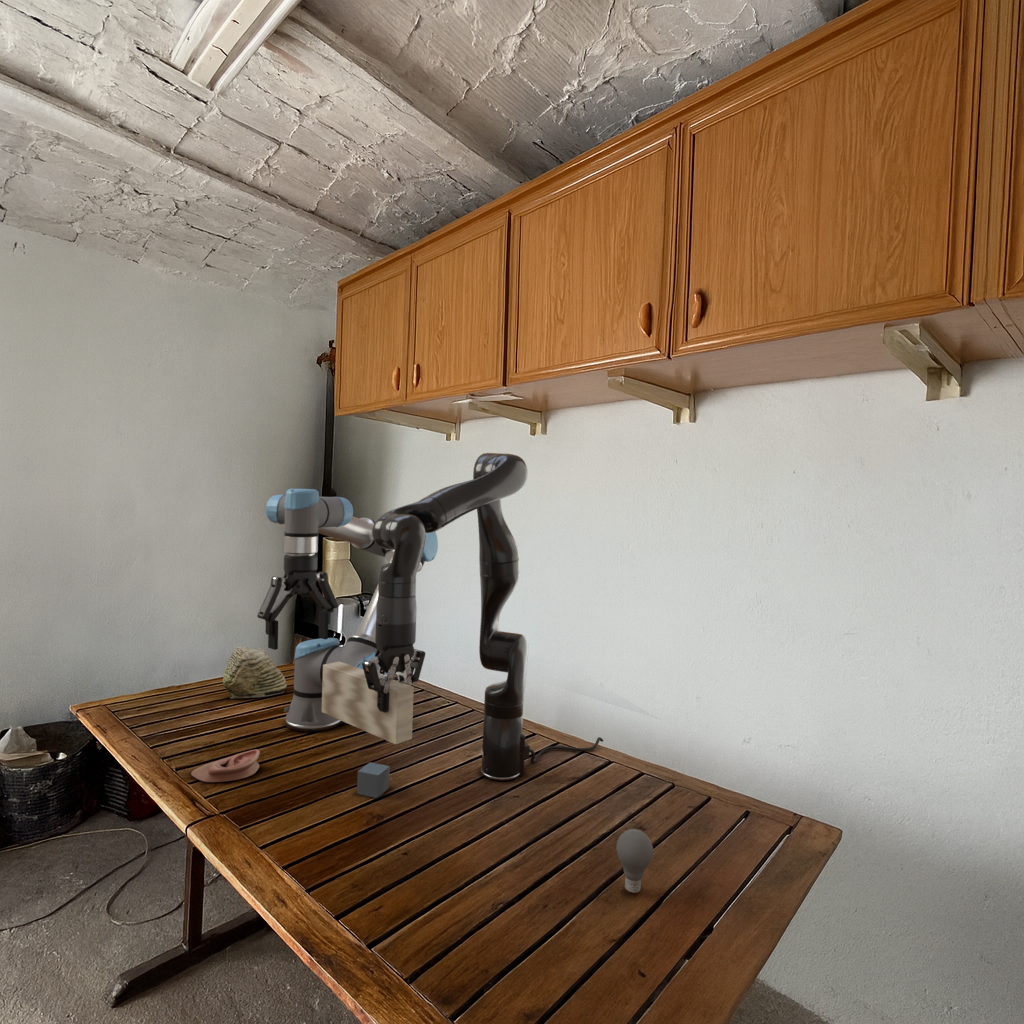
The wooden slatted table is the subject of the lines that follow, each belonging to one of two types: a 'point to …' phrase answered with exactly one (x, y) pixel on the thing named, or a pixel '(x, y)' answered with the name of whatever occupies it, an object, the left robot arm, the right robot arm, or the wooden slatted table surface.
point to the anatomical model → (229, 768)
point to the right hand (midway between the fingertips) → (393, 708)
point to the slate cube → (373, 780)
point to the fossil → (252, 674)
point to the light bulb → (634, 857)
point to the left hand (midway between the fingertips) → (298, 643)
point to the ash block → (367, 703)
